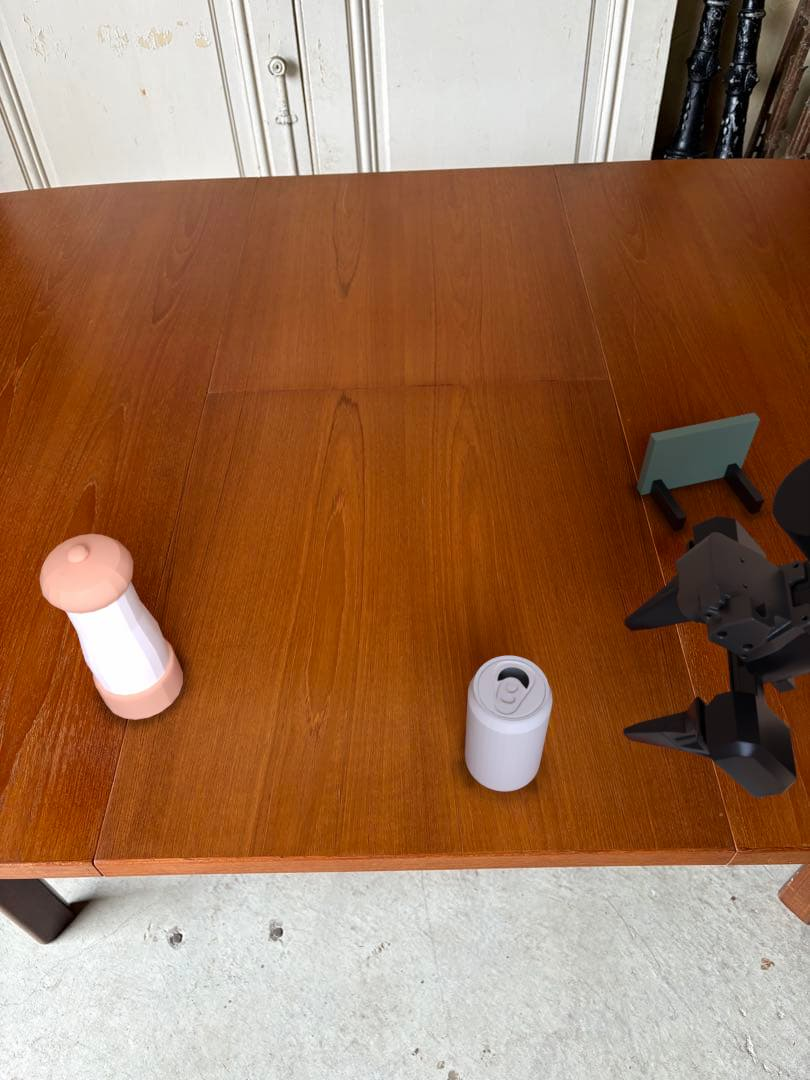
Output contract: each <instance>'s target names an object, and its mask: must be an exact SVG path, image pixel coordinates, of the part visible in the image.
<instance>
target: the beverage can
mask: <svg viewBox="0 0 810 1080" xmlns="http://www.w3.org/2000/svg"><path fill="white" fill-rule="evenodd" d="M466 702H467V705H466V722H465V726H466V727H465V741H464V761H465V763H466V767H467V769H468V771H469V773H470V774H471V776H472V777H473V778H474V780H475V781H477V782H478V783H479V784H480V785H482V786H484V787H485V788H487V789H490V790H493V791H496V792H513V791H517V790H519V789H522V788H524V787H525V786H527V785H528V784H530V783H531V782H532V781H533V779H535V777H536V775H537V773H538V772H539V770H540V769H539V768H540V766H541V765H540V764H541V760H542V755H543V752H544V745H545V741H546V736H547V731H548V727H549V721H550V717H551V711H552V708H553V693H552V689H551V686H550V684H549V682H548V679H547V676H546V674H545V673H544V672H543V670H542V669H541V668H540V667H539V666H538V665H536V664H535V663H534V662H533V661H530V660H529V659H527V658H524V657H521V656H518V655H517V656H516V655H500V656H496V657H494V658H491V659H489V660H487V661H486V662H484V663H483V664H482V665H481V666H480V667H479V669H478V670H477V671H476V673H475V674H474V675H473V677H472V678H471V680H470V683H469V685H468V690H467V701H466Z"/></svg>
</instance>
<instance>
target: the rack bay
mask: <svg viewBox="0 0 810 1080" xmlns="http://www.w3.org/2000/svg"><path fill="white" fill-rule="evenodd" d="M760 421H761V418H760V417H759V416H758V415H757V414H756V412H750V413H746V414H740V415H737V416H731V417H726V418H721V419H716V420H712V421H707V422H702V423H697V424H691V425H687V426H681V427H676V428H671V429H667V430H662V431H659V432H658V431H657V432H652V433H650V435H649V439H648V442H647V447H646V450H645V455H644V459H643V462H642V467H641V470H640V474H639V477H638V481H637V484H636V485H637V486H636V489H637V490H638V493H640V496H643V495H648V494H650V496H651V498H652V499H653V501H654V502H655V504H656V505H657V507H658V509H659V510H660V512H661V513H662V514H663V517H664V518H665V520H666V521H667V522H668V524H669V525H670V527H671V528H672V530H673V531H674V532H676V531H682V530H683V529H684V527H685V523H686V520H687V518H688V516H687V515H686V513H685V512H684V510H683V509H682V506H680V504H679V503H678V501H677V500H676V498H675V497H674V495H673V494H672V493H671V491H670V490H671V489H677V488H680V487H686V486H691V485H694V484H699V483H703V482H704V483H705V482H708V481H709V482H710V481H713V480H717V479H723V480H725V481H726V483H727V484H728V485H729V487H730V489H732V491H733V492H734V494H735V495H736V496H737V498H738V499H739V501H740V502H741V503H742V504H743V505H744V507H745V508H746V510H748V512H749V513H750V515H754V514H757V513H760V511H761V509H762V507H763V505H764V502H765V498H764V496H762V494H761V493H760V492H759V490H758V489H757V488H756V487H755V485H754V484H753V483H752V480H750V479H749V477H748V476H747V475H746V473H744V471H743V470H742V469H743V466H744V462H745V460H746V458H747V455H748V453H749V450H750V447H751V444H752V443H753V439H754V437H755V434H756V433H757V429H758V427H759V424H760Z"/></svg>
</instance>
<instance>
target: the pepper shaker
mask: <svg viewBox="0 0 810 1080" xmlns="http://www.w3.org/2000/svg"><path fill="white" fill-rule="evenodd" d="M133 574H134V560H133V557H132V554H131V552H130V551H129V550H128V549H127V548H126V547H125V546H124V544H122V543H121V542H120V541H119V540H118V539H115V538H112V537H110V536H107V535H104V534H98V533H97V534H96V533H87V534H80V535H77V536H74V537H71V538H68V539H66V540H65V541H63V542H61V543H60V544H58V545H57V546H55V548H54V549H52V551H51V552H50V553H48V554H47V557H46V558H45V560H44V562H43V564H42V567H41V568H40V574H39V585H40V590H41V592H42V596H43V598H45V599H46V600H47V601H48V603H49V604H50V605H52V606H53V607H55V608H58V610H59V609H60V610H62V611H64V612H65V613H66V615H67V617H68V618H69V620H70V622H71V624H72V625H73V628H74V629H75V631H76V633H77V636H78V640H79V644H80V647H81V651H82V655H83V657H84V661H85V663H86V665H87V667H88V668H89V669H90V671H91V672H92V679H93V682H94V686H95V688H96V690H97V691H98V693H99V695H100V696H101V698H102V700H103V701H104V703H105V705H106V706H107V707H108V709H110V711H111V712H112V713H113V714H115V715H116V716H118V717H121V718H123V719H126V720H127V719H128V720H136V721H137V720H142V719H148V718H151V717H153V716H155V715H158V714H159V713H160V714H161V713H162V712H163V711H165V710H166V709H167V708H168V707H169V706H171V705H172V704H173V703H174V701H176V699H177V698H178V696H179V695H180V693H181V690H182V687H183V685H184V672H183V670H182V667H181V665H180V661H179V660H178V657H177V655H176V653H175V651H174V648H173V645H172V644H171V643H170V642H169V641H168V640H167V639H166V638H165V637H164V636H163V632H162V631H161V628H160V626H159V623H158V621H157V620H156V619H155V617H154V616H153V615H152V614H151V612H150V611H149V610H148V609H147V607H146V606H145V605H144V604H143V602H142V601H141V600H140V597H139V595H138V593H137V591H136V588H135V587H134V585H133V582H132V579H133Z"/></svg>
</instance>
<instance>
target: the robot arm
mask: <svg viewBox="0 0 810 1080" xmlns="http://www.w3.org/2000/svg"><path fill="white" fill-rule="evenodd" d="M771 509H772V516H773V518H774V520H775V521H776V523H777V524H778V526H779V527H780V528H781V530H782V531H783V532H784V533H785V534H786V535H787V537H788V538H789V539H790V540H791V541H792V543H793V544H794V545H795V546H796V547H797V548H798V550H799V551H800V552H801V553H802V554H803V556H804V557H805V558H806V560H804V561H801V560H794V561H791V562H789V563H784V564H773V563H771V562H770V561H769V560H768V559H767V554H766V552H765V551H764V550H763V548H762V547H760V545H759V544H758V542H756V540H755V539H754V538H753V537H752V536H751V535H750V534H749V532H748V531H747V530H746V529H745V527H743V525H742V524H741V523H740V522H739V521H738V520H737V518H735V517H734V518H733V517H727V516H719V515H716V516H713V517H711V518H708V519H706V520H703V521H701V522H699V523H696V524H693V525H692V534H693V535H692V537H693V539H689V540H688V541H687V542H686V544H685V548H684V549H685V550H684V554H683V555H681V556H680V557H679V558H677V559H676V561H675V571H676V572H677V574H675V576H674V577H672V578H671V579H670V580H669V582H667V583H666V584H665V585H664V586H663V587H662V588H661V589H659V590H658V591H657V592H656V593H655V594H653V595H652V596H651V597H650V598H649V599H648V600H646V601H645V602H644V603H642V604H641V605H640V606H639V607H638V608H637V609H635V610H634V611H633V612H632V613H631V614H629V615H628V616H627V617H626V618H625V619H624V620H623V621H624V622H623V624H624V626H625V627H626V629H628V630H629V631H631V632H637V631H638V632H639V631H645V630H646V631H647V630H654V629H655V630H656V629H659V628H664V627H670V626H674V625H680V624H685V623H689V622H693V623H695V624H703V625H705V626H706V633H707V640H708V641H709V642H711V643H713V644H714V645H717V646H719V647H722V648H724V649H725V650H726V654H727V655H726V657H727V665H728V666H727V667H728V677H729V678H728V679H729V687H730V690H729V691H725V692H720V693H716V694H715V695H714V697H713V698H712V699H711V700H710V701H709V703H707V702H705V701H704V700H703V699H702V698H701V697H700V696H698V695H697V696H695V697H694V699H693V700H692V702H691V704H690V705H689V707H688V708H687V709H686V710H684V711H681V712H677V713H673V714H672V713H671V714H668V715H663V716H660V717H656V718H651V719H647V720H644V721H639V722H637V723H634V724H632V725H630V726H627V727H624V728H623V729H622V730H623V731H622V734H623V736H624V737H626V738H627V739H628V740H629V741H631V742H636V743H640V744H645V745H651V746H655V747H659V748H665V749H669V750H673V751H674V750H675V751H680V752H684V753H688V754H694V755H696V756H699V757H703V758H707V759H709V760H711V761H712V762H713V763H714V764H715V765H717V767H719V768H720V769H721V770H722V771H723V772H725V774H727V776H729V777H730V778H731V779H733V781H734V782H736V783H737V784H738V785H740V786H741V787H742V788H743V789H744V790H745V791H746V792H747V793H748V794H750V795H751V796H752V797H753V798H755V799H759V798H766V797H771V796H777V795H782V794H784V793H785V792H787V791H788V790H789V789H790V788H791V787H792V786H793V784H794V783H795V782H796V781H797V780H798V775H797V767H796V761H795V753H794V747H793V741H792V740H793V739H792V732H791V727H789V726H788V725H787V724H786V723H785V722H784V720H783V719H781V718H780V717H779V716H778V715H777V714H776V713H775V712H774V711H773V710H772V709H771V708H770V707H769V706H768V705H767V704H766V703H767V701H766V694H765V693H766V692H765V686H764V685H767V684H770V685H771V686H773V688H774V689H776V691H777V692H778V693H779V694H782V693H786V692H791V691H794V690H796V683H795V677H798V676H799V677H800V676H802V675H806V674H810V457H808V458H807V459H805V460H804V461H802V462H801V463H800V464H798V465H797V466H795V467H794V468H793V469H792V470H790V471H789V473H788V474H787V475H786V476H785V477H784V478H783V480H782V481H781V483H780V484H779V485H778V486H777V488H776V491H775V493H774V496H773V499H772V507H771Z"/></svg>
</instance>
